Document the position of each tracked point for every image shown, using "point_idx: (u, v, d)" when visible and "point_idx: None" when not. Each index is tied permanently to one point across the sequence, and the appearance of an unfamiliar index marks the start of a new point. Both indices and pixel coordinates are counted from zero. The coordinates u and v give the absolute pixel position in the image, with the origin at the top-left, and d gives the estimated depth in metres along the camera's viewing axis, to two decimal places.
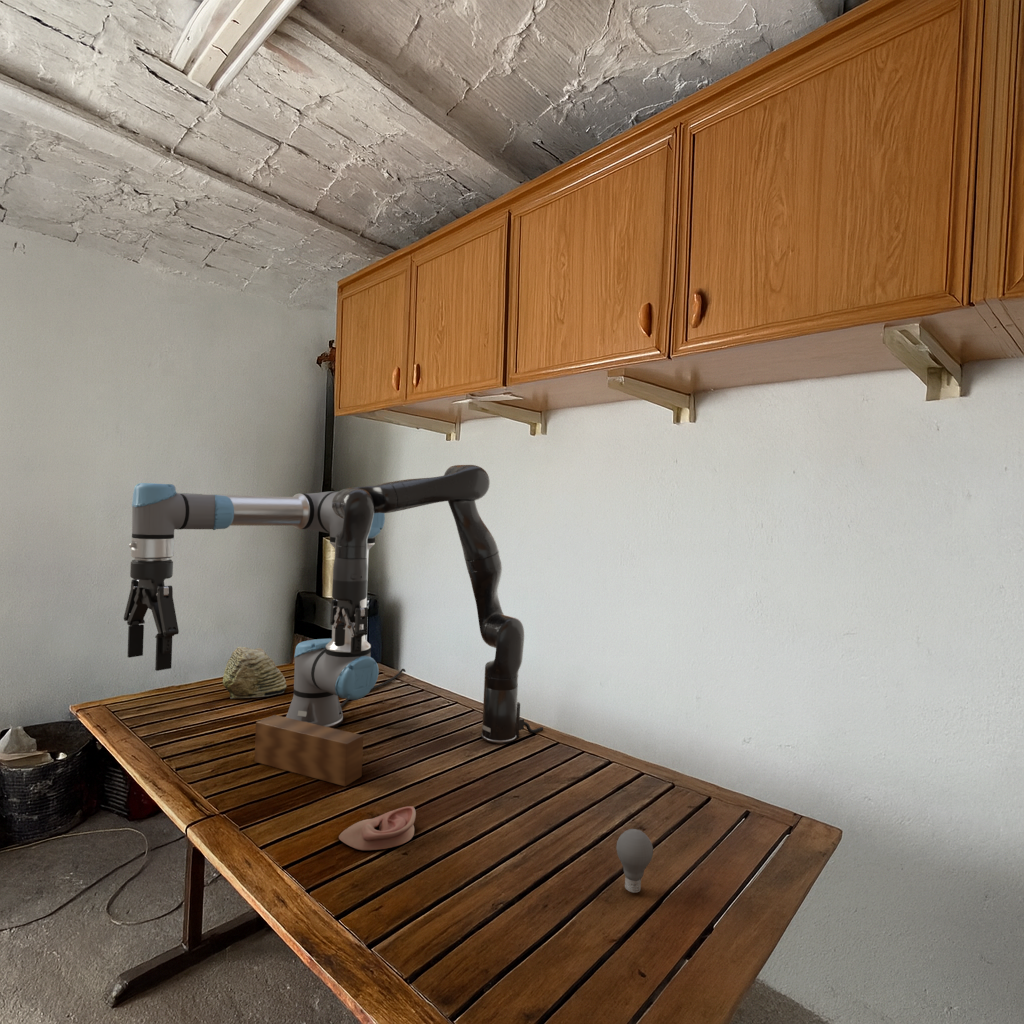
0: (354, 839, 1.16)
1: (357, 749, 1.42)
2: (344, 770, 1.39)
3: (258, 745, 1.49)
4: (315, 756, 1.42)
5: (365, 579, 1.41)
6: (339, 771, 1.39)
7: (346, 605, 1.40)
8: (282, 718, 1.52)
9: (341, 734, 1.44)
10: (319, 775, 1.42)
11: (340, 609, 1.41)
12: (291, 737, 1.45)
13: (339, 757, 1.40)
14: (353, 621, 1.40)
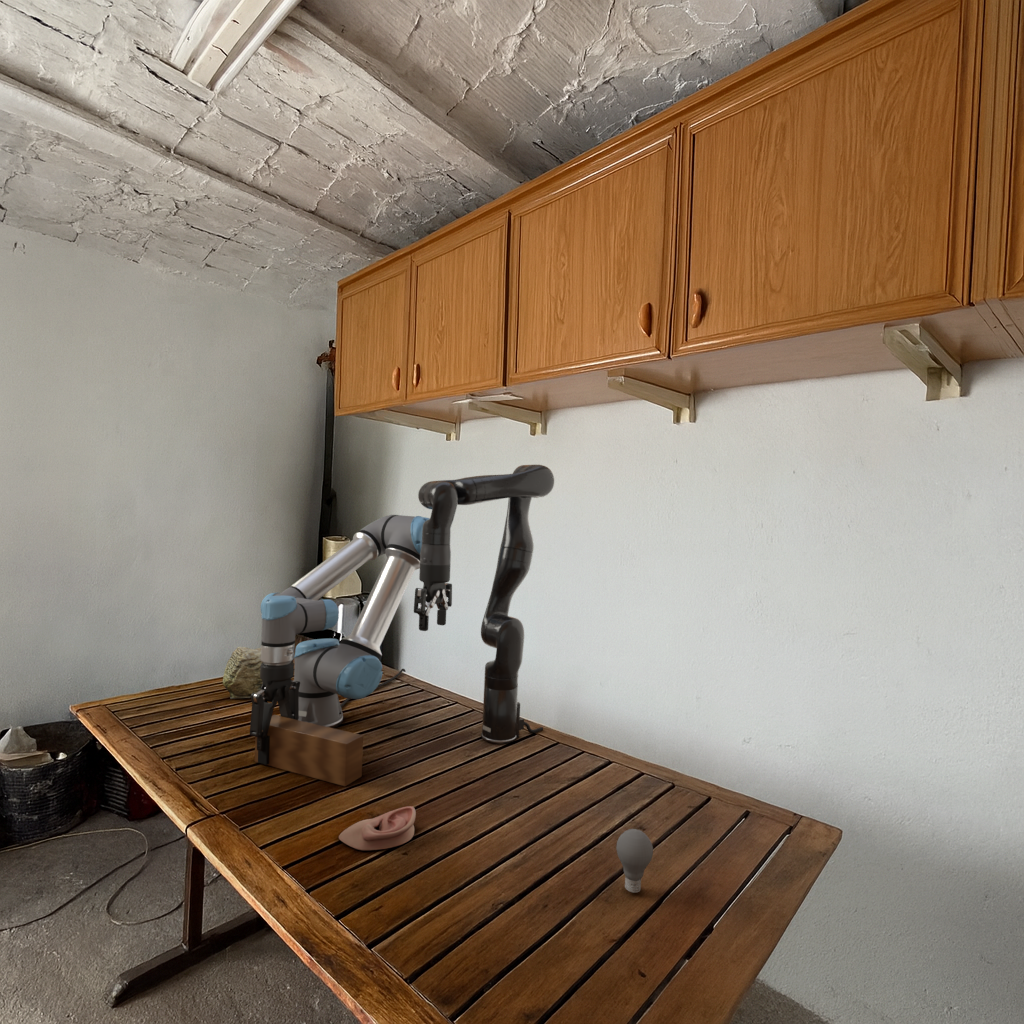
0: (354, 839, 1.16)
1: (357, 749, 1.42)
2: (344, 770, 1.39)
3: None
4: (315, 756, 1.42)
5: (437, 564, 1.52)
6: (339, 771, 1.39)
7: None
8: (282, 718, 1.52)
9: (341, 734, 1.44)
10: (319, 775, 1.42)
11: None
12: (292, 737, 1.45)
13: (339, 757, 1.40)
14: (428, 601, 1.54)
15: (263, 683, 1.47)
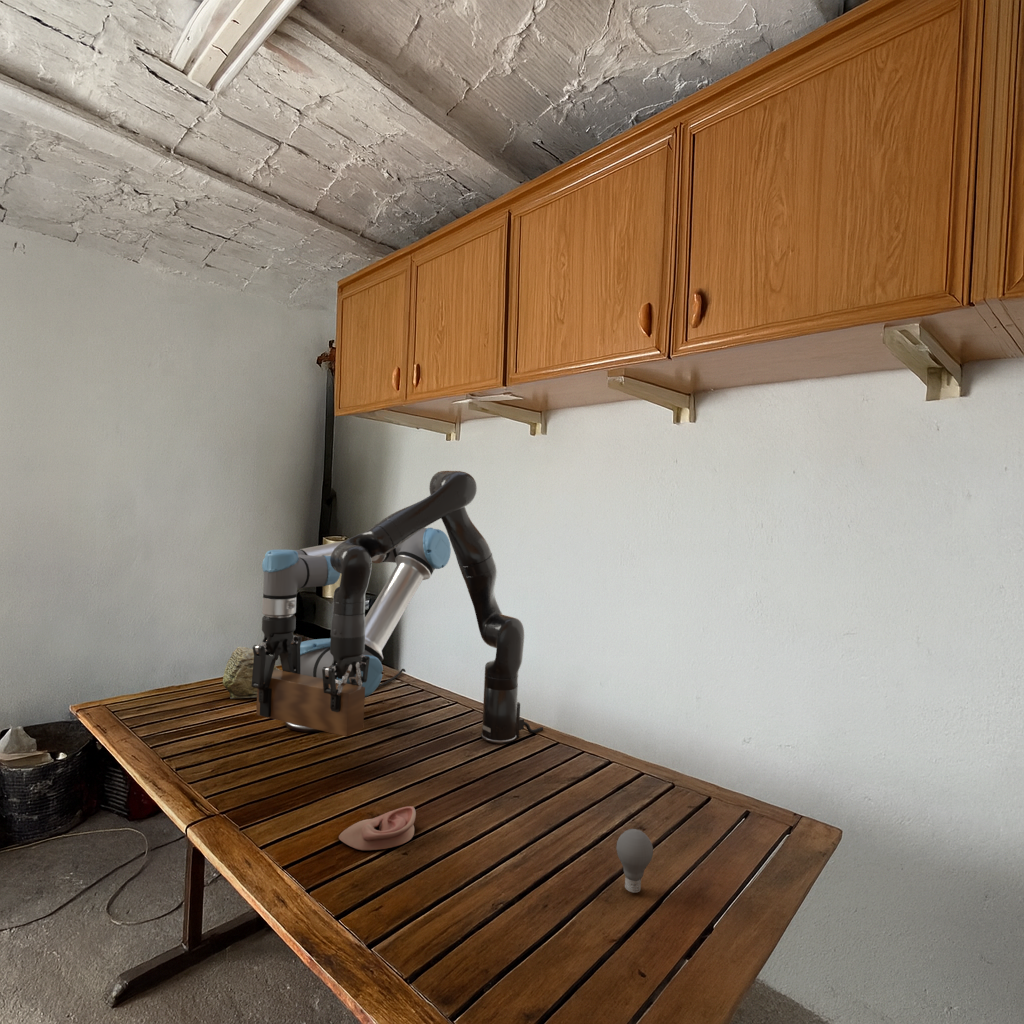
0: (354, 839, 1.16)
1: (359, 701, 1.42)
2: (346, 720, 1.39)
3: None
4: (317, 707, 1.42)
5: (347, 637, 1.39)
6: (341, 722, 1.39)
7: None
8: (284, 672, 1.52)
9: (343, 686, 1.44)
10: (321, 726, 1.42)
11: None
12: (293, 688, 1.45)
13: None
14: (339, 677, 1.40)
15: (265, 635, 1.47)
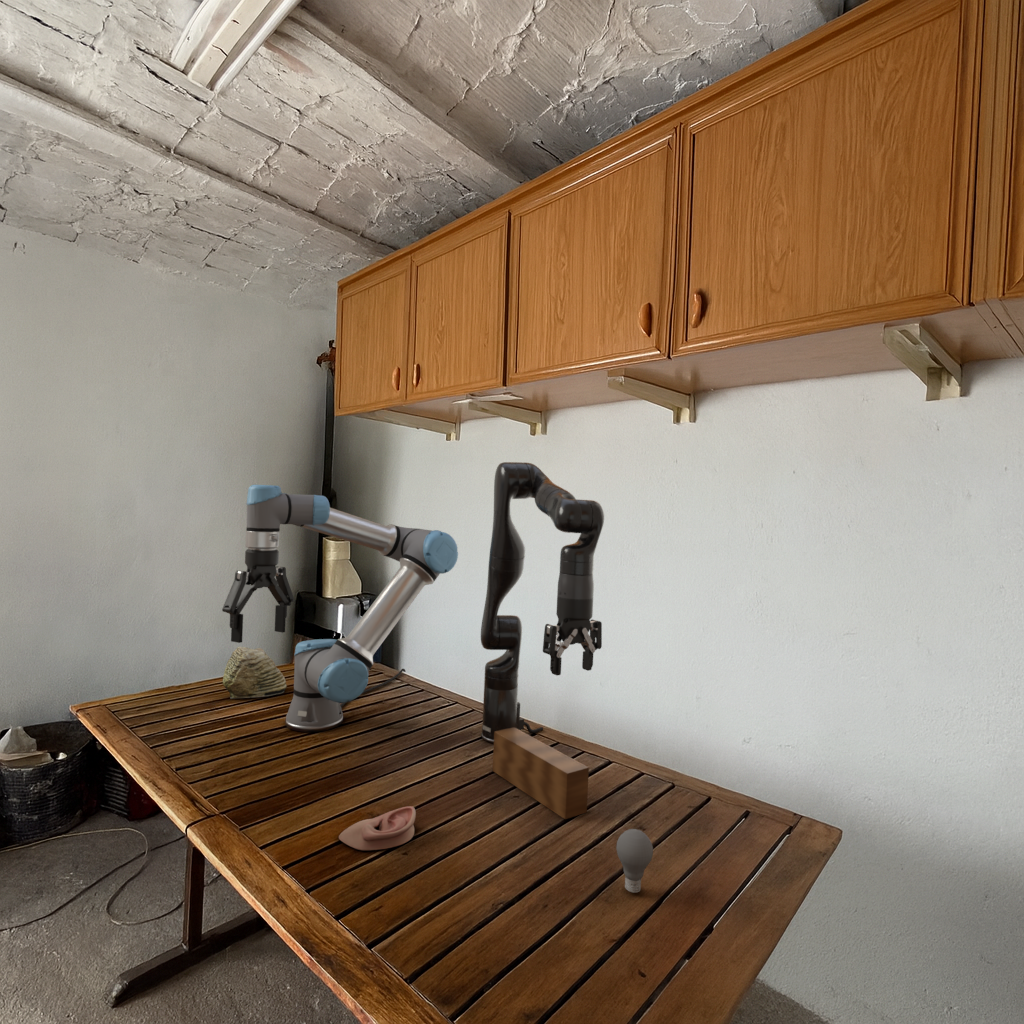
0: (354, 839, 1.16)
1: (581, 782, 1.31)
2: (564, 801, 1.29)
3: (495, 755, 1.49)
4: (540, 779, 1.35)
5: (571, 598, 1.29)
6: (560, 802, 1.30)
7: None
8: (519, 732, 1.50)
9: (567, 761, 1.34)
10: (543, 800, 1.34)
11: None
12: (521, 753, 1.41)
13: (560, 786, 1.30)
14: (564, 641, 1.31)
15: (248, 567, 1.49)
